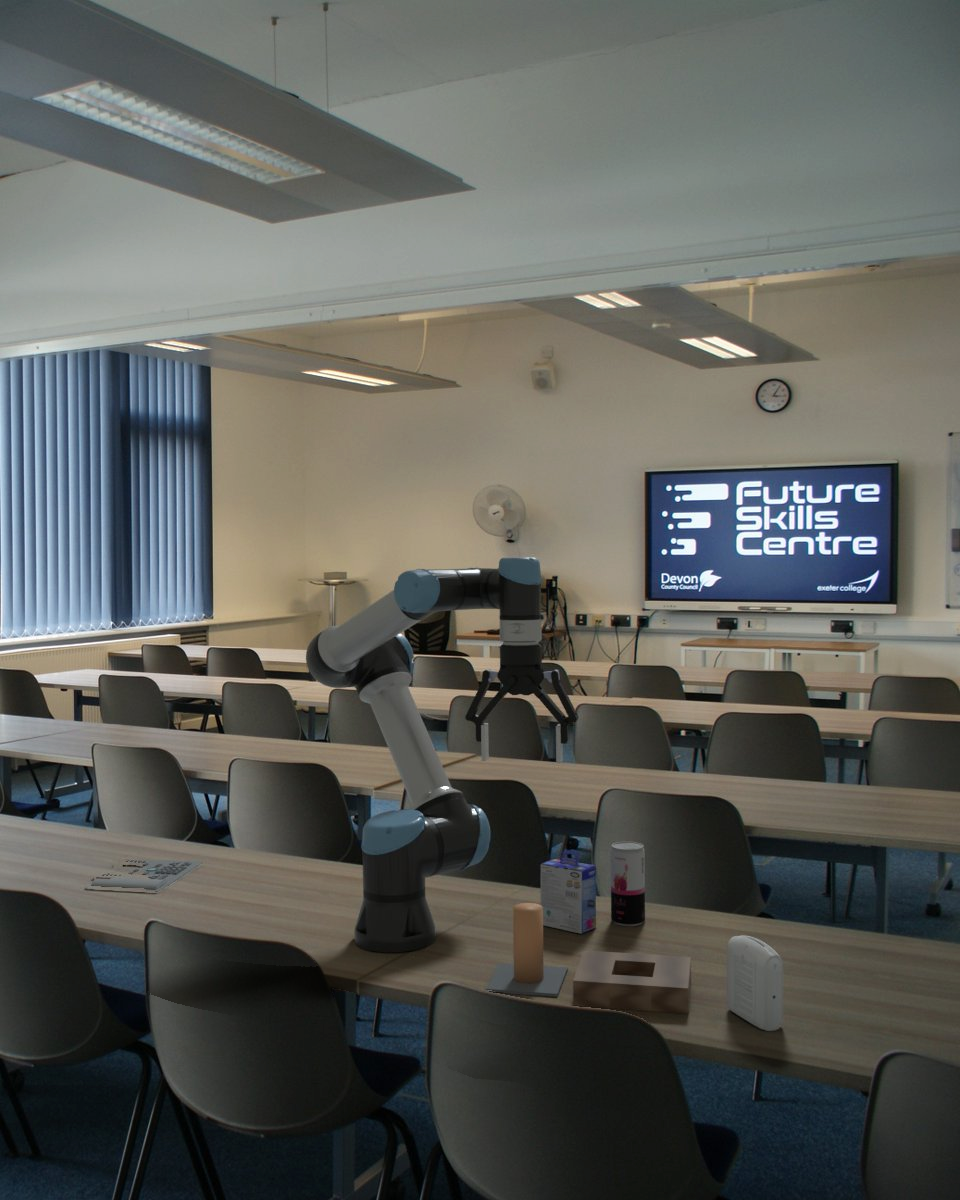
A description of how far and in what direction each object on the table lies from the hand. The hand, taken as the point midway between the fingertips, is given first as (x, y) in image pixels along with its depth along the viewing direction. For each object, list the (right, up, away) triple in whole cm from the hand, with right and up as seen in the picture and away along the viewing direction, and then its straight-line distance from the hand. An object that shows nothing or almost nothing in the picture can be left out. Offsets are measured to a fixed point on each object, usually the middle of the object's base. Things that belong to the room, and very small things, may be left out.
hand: (522, 760), depth 204 cm
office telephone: (-85, -35, +53) cm, 106 cm away
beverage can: (+21, -34, +17) cm, 44 cm away
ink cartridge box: (+10, -34, +15) cm, 38 cm away
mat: (0, -35, -13) cm, 38 cm away
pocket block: (+18, -35, -19) cm, 44 cm away
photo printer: (+35, -36, -30) cm, 58 cm away
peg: (+1, -35, -13) cm, 37 cm away
